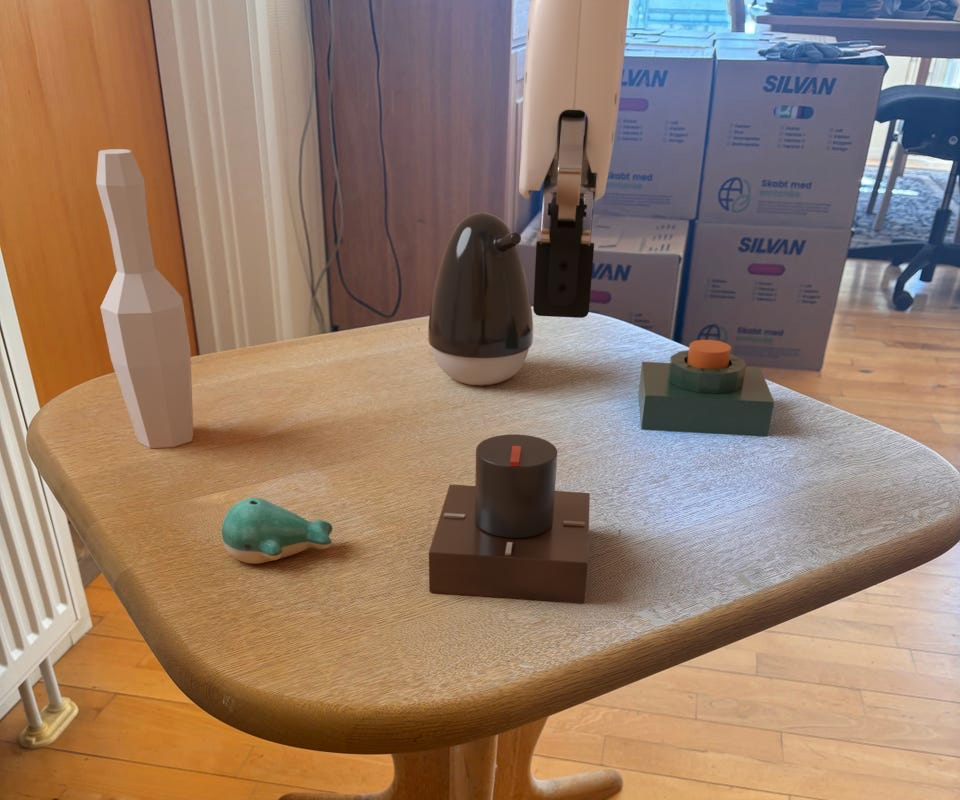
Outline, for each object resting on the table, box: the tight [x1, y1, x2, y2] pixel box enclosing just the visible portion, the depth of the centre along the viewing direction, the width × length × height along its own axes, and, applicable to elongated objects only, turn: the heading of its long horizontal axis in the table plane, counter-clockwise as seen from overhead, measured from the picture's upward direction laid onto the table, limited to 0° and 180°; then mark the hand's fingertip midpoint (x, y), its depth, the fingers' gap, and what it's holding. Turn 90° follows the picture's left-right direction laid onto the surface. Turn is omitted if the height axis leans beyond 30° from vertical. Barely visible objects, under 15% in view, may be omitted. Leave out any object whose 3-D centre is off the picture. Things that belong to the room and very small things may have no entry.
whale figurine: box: [221, 497, 333, 565], centre depth 66 cm, size 6×7×4 cm
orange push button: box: [687, 339, 732, 369], centre depth 86 cm, size 4×4×2 cm
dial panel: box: [428, 484, 591, 604], centre depth 65 cm, size 10×10×3 cm
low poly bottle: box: [95, 148, 194, 449], centre depth 76 cm, size 6×6×22 cm
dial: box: [474, 434, 558, 538], centre depth 63 cm, size 5×5×5 cm
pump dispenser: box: [427, 212, 534, 386], centre depth 92 cm, size 10×10×15 cm
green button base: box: [637, 349, 775, 438], centre depth 88 cm, size 11×9×5 cm
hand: (562, 292), depth 60 cm, fingers open, 9 cm apart
